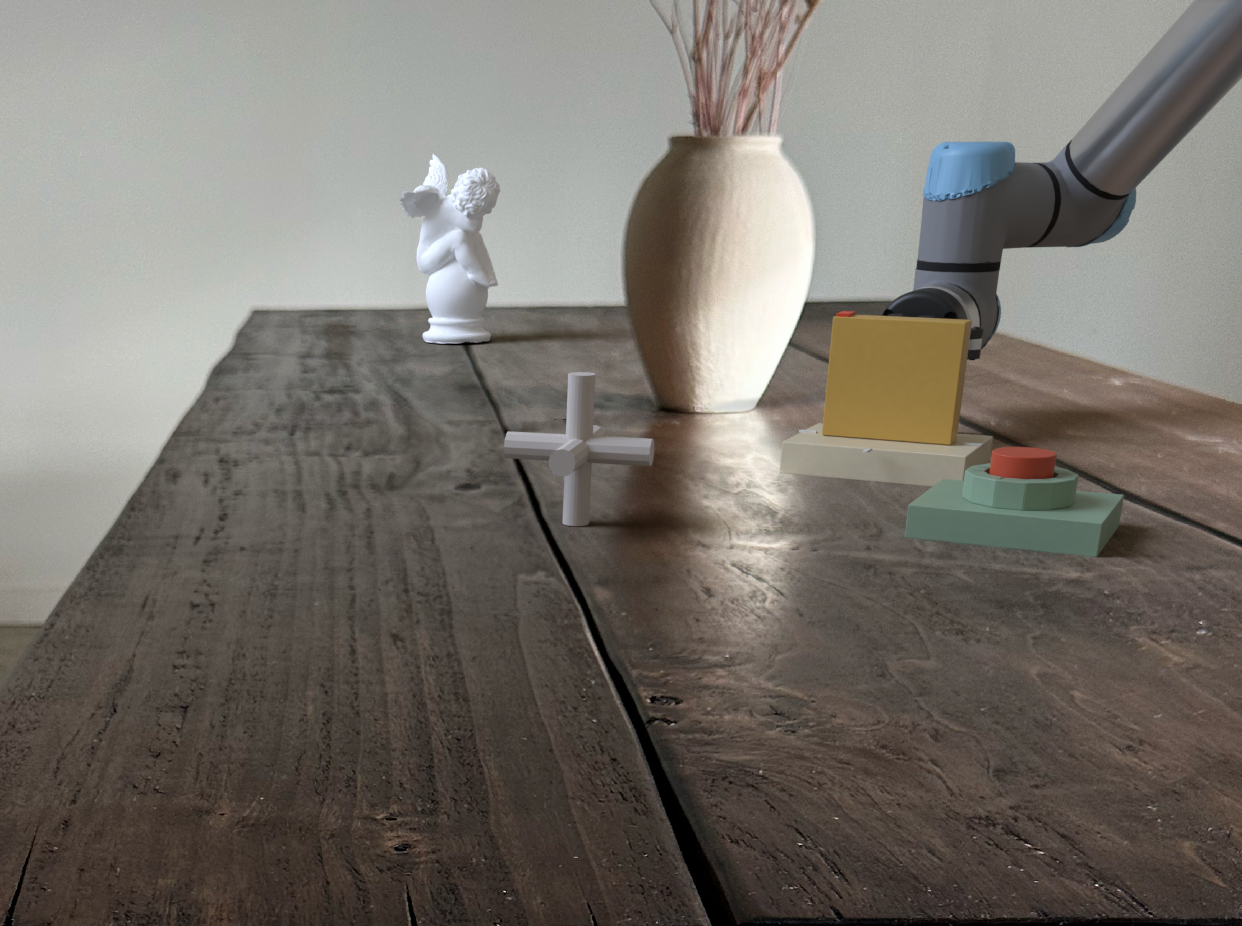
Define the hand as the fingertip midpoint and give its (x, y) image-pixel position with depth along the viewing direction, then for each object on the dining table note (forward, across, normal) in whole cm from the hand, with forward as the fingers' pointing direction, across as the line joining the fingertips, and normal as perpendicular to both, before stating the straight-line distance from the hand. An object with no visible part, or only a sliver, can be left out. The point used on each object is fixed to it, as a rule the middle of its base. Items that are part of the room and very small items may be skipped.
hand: (857, 361), depth 133 cm
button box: (+20, -17, -8) cm, 27 cm away
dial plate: (+2, -4, -8) cm, 9 cm away
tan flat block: (+2, -4, -5) cm, 7 cm away
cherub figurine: (-59, +68, -8) cm, 90 cm away
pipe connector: (+31, +10, -8) cm, 34 cm away
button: (+20, -17, -4) cm, 26 cm away
